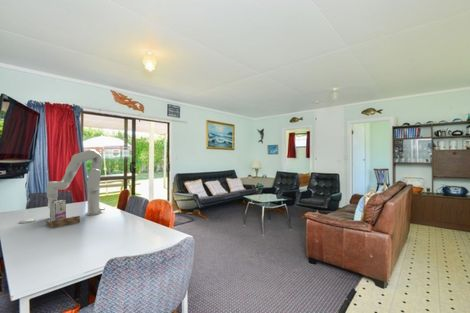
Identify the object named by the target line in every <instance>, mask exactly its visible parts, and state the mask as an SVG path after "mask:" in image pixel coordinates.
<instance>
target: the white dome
mask: <svg viewBox="0 0 470 313" xmlns="http://www.w3.org/2000/svg"><path fill="white" fill-rule="evenodd" d="M36 221H37V220H36V218H25V219H21V220H19V223H18V224H29V223H34V222H36Z"/></svg>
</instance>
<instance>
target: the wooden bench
mask: <svg viewBox="0 0 470 313" xmlns="http://www.w3.org/2000/svg"><path fill="white" fill-rule="evenodd" d="M80 222H81V216H80V215H77V216H76V215H75V216H70V217H66V218H64V219H58V220H53V221H51V222H50V221H49V220H46V226H48V227H49V228H57V227H61V226H67V225H71V224H78V223H80Z"/></svg>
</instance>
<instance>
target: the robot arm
mask: <svg viewBox="0 0 470 313" xmlns="http://www.w3.org/2000/svg"><path fill="white" fill-rule="evenodd" d="M87 161H91V166H90V170H89V172H88V175H87V176H88V177H87V182H86V189H87V212H85V215H86V216H96V215H99V214H101V213H102V211H105V210H106V208H105V207H100V191H101V190H100V189H101V188H100V187H101V185H100V182H101V176H102V166H103V157H102V155H101V153H99V152H98V151H97V150H95V149H87V150H84V151H82V152H78V153H74V154H73V155H72V156H71V160H70V162H69V163H68V165H67V167H66V169H65V173H64V174H63V177H62V178H61V180H60V181H55V180H54V181H53V180H52V181H47V183H46V198H47V208H48V209H50V203H51V202H55V201H59V200H58V197H59V191H60V190H61V191H62V190H66V189H67V188H69V187H70V185H71V183H72V182H73V180H74V177H75V176H76V175H77V173H78V171H79V169H80V167H82V166H81V165H82V164H83V163H84V162H87Z"/></svg>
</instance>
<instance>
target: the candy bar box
mask: <svg viewBox="0 0 470 313" xmlns="http://www.w3.org/2000/svg"><path fill="white" fill-rule="evenodd" d="M66 203H67V200H66V199H59V200H58V201H55V202H51V203H50V208H49V219H50V221H49V222H51V221H53V220H58V219H64V218H67V213H66V212H67V206H66V205H67V204H66Z"/></svg>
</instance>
